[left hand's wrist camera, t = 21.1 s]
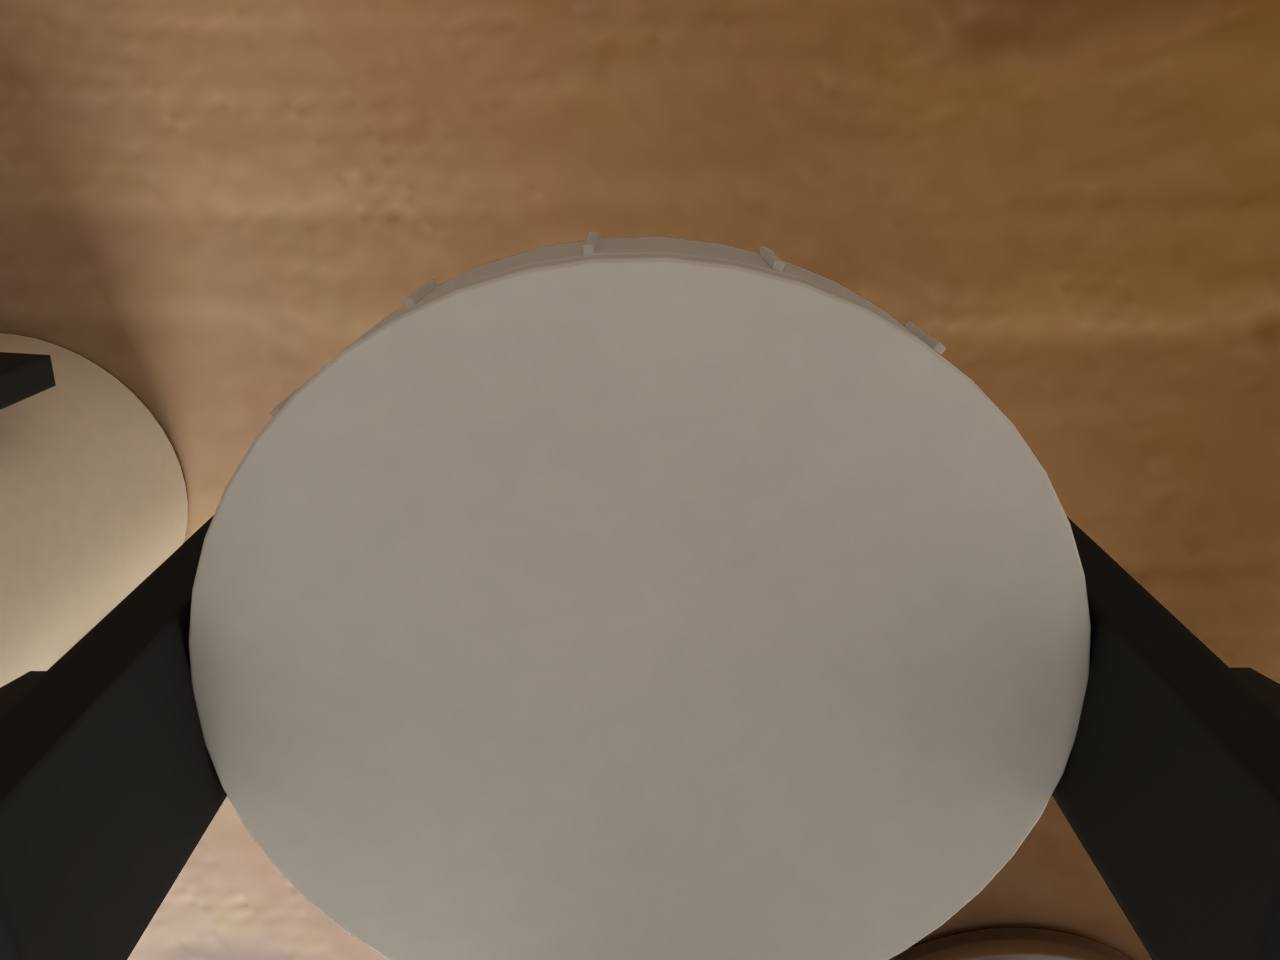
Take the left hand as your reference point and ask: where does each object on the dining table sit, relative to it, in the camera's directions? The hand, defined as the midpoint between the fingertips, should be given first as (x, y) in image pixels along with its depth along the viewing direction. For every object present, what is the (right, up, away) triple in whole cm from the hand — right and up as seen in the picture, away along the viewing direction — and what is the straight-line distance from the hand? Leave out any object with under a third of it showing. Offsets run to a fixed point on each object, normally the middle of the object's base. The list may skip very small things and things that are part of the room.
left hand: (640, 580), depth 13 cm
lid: (0, -1, -3) cm, 3 cm away
